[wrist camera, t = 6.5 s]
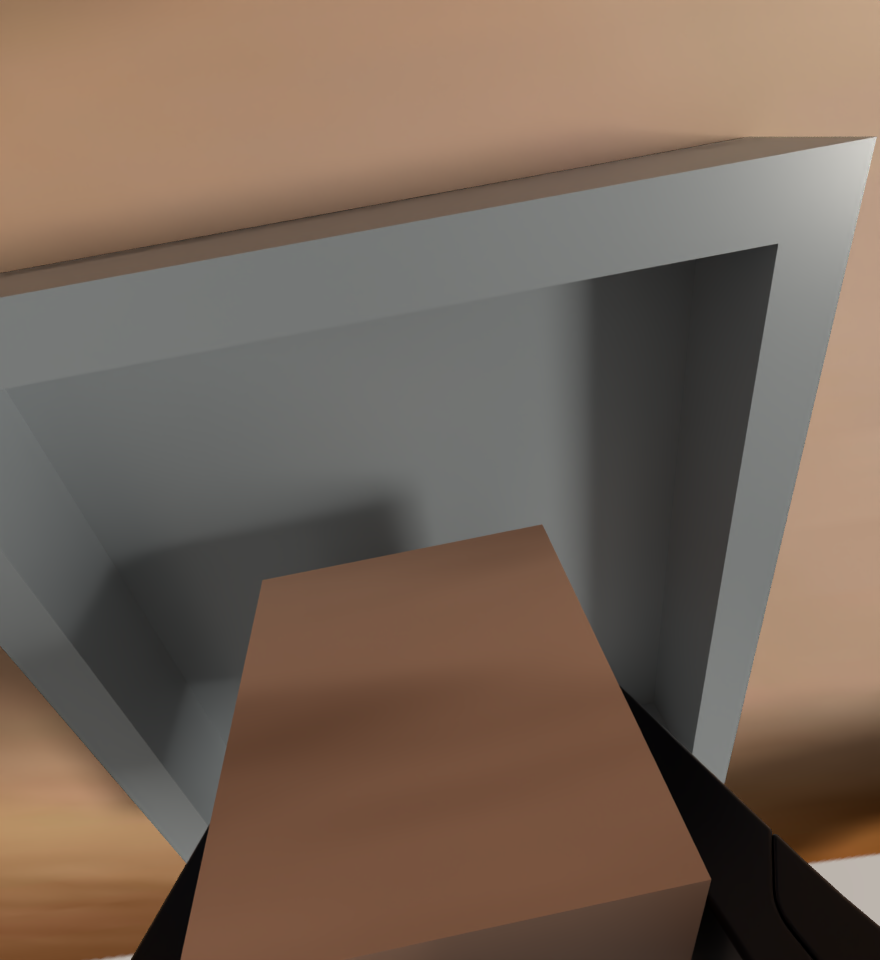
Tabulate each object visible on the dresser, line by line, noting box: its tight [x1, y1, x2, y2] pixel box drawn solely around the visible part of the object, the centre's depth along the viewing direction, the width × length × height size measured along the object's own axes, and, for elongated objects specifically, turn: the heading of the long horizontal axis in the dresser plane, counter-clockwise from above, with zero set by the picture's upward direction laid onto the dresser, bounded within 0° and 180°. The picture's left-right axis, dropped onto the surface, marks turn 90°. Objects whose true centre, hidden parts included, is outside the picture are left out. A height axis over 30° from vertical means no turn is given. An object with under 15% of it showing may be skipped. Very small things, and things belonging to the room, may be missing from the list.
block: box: [181, 524, 711, 960], centre depth 8 cm, size 4×4×5 cm
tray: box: [0, 137, 877, 863], centre depth 11 cm, size 14×13×2 cm
